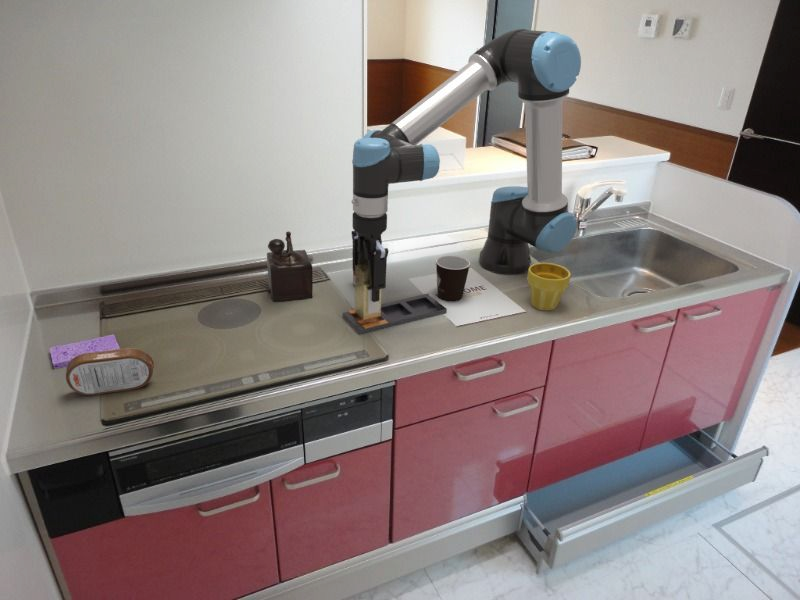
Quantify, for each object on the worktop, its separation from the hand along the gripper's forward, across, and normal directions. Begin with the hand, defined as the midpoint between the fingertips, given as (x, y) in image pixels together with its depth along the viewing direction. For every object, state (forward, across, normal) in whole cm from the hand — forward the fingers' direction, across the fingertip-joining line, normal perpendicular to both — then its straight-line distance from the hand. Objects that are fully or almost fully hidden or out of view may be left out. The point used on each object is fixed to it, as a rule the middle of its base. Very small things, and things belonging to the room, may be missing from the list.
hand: (367, 307), depth 137 cm
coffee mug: (+4, -4, +26) cm, 27 cm away
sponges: (+5, -14, -59) cm, 61 cm away
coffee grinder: (+5, -21, -12) cm, 24 cm away
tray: (+4, 0, +8) cm, 9 cm away
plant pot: (+4, +11, +46) cm, 47 cm away
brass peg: (+2, 0, 0) cm, 2 cm away
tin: (+5, +2, -56) cm, 56 cm away
